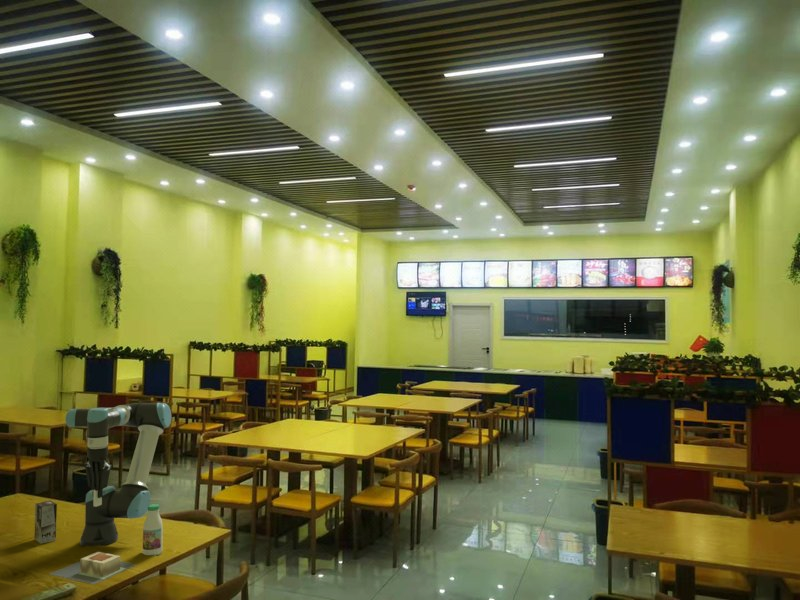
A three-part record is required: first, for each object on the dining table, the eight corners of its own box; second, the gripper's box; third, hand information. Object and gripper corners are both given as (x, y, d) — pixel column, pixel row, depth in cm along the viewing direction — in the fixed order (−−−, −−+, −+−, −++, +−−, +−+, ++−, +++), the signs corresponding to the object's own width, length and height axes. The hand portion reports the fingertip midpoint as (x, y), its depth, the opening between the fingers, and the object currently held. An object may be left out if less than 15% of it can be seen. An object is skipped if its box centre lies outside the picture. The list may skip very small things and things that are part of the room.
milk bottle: (146, 550, 255) (147, 502, 256) (164, 549, 255) (165, 502, 256) (139, 557, 247) (140, 508, 248) (158, 556, 248) (159, 507, 249)
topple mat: (48, 576, 228) (48, 574, 228) (93, 557, 246) (93, 555, 246) (94, 586, 219) (94, 584, 219) (137, 566, 237) (137, 564, 237)
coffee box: (56, 540, 267) (57, 503, 267) (40, 544, 262) (41, 507, 263) (49, 535, 273) (50, 499, 274) (33, 539, 268) (34, 502, 269)
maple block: (80, 558, 230) (103, 563, 225) (98, 551, 237) (120, 555, 233) (80, 572, 230) (102, 576, 225) (97, 564, 237) (120, 569, 233)
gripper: (77, 447, 239) (77, 506, 239) (102, 450, 235) (102, 510, 235) (93, 443, 246) (93, 500, 246) (117, 446, 242) (117, 504, 241)
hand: (97, 505), depth 240 cm, fingers closed
